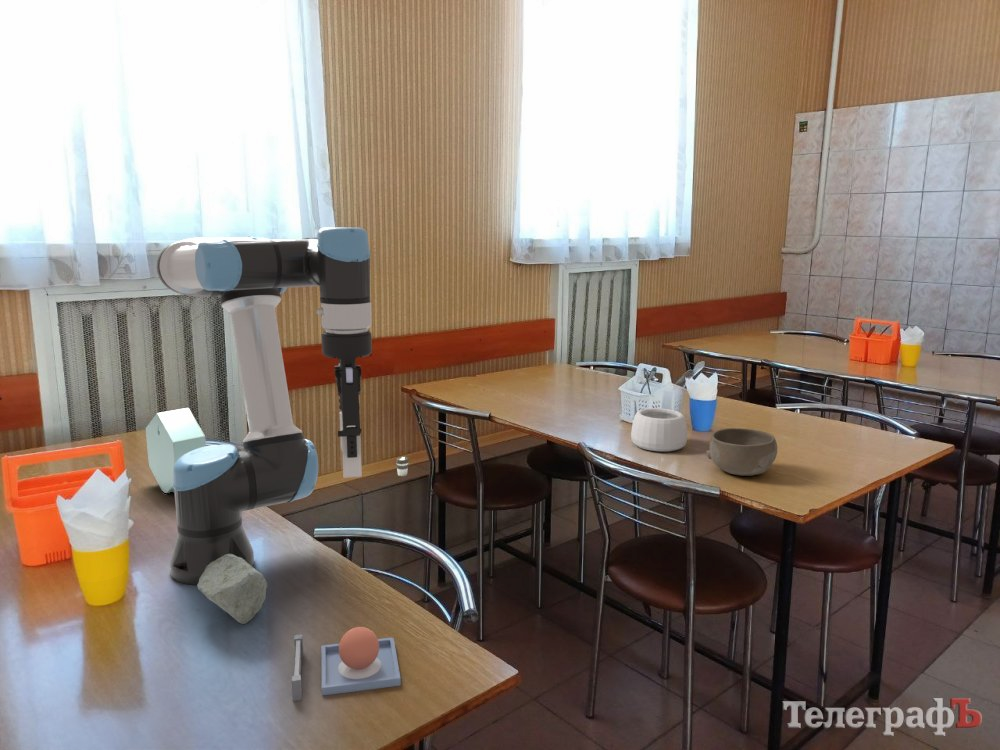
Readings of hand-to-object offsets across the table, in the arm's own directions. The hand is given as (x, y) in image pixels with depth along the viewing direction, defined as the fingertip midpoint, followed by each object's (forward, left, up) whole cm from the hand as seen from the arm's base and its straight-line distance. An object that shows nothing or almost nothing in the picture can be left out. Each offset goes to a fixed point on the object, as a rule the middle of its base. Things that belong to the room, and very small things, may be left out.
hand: (350, 462), depth 120 cm
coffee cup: (-75, +16, -29) cm, 82 cm away
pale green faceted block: (-74, -40, -29) cm, 89 cm away
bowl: (-60, +106, -29) cm, 125 cm away
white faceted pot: (-89, +94, -29) cm, 133 cm away
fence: (+12, -9, -29) cm, 32 cm away
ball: (+12, 0, -28) cm, 31 cm away
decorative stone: (-8, -20, -29) cm, 36 cm away
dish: (+12, 0, -29) cm, 31 cm away
